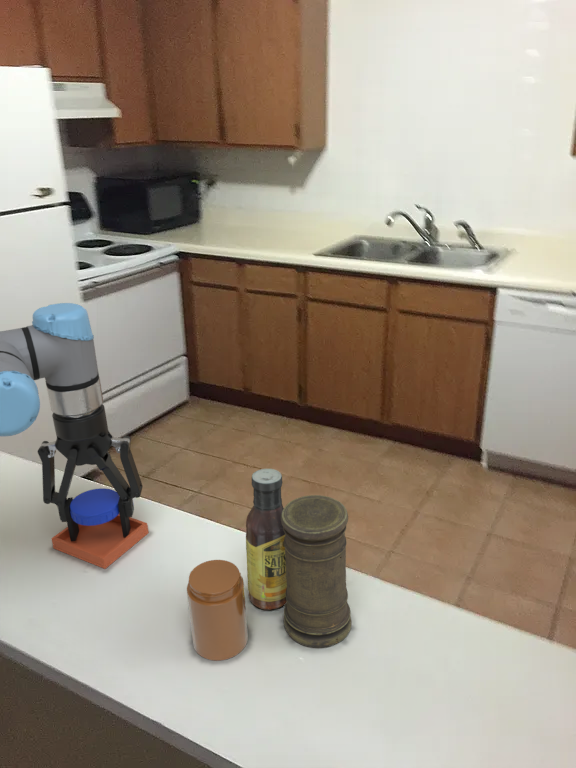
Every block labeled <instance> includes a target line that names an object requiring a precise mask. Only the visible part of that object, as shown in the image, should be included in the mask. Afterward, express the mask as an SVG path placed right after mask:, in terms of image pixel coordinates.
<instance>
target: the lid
mask: <svg viewBox="0 0 576 768" xmlns="http://www.w3.org/2000/svg"><path fill="white" fill-rule="evenodd" d="M119 498H120V496H119V495H118V493H117V492H116V490H115V489H111V488H105V487H104V488H103V487H102V488H101V487H100V488H93V489H89V490H86V491H83V492H81V493H80V494H78V495H75V497H73V500H72V502H71V504H70V510H71V511H70V513H71V518H72V519H73V521H75V522H76V523H78V524H80V525H85V526H93V525H99V524H103V523H106V522H108V521H110V520H112V519H114V518H115V517H116V516H117V515H118V514H119V508H118V501H119Z"/></svg>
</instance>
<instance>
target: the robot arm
mask: <svg viewBox="0 0 576 768" xmlns="http://www.w3.org/2000/svg"><path fill="white" fill-rule="evenodd" d="M90 322H91V321H90V318H89V313H88V310H87V309H86V308H85V307H83V306H82V305H81V304H78V303H73V302H60V303H53V304H48V305H46V306H42V307H39V308H37V309H36V310H35V311H33V313H32V321H31V323H32V324H31V325H27V326H23V327H19V328H13V329H6V330H1V331H0V437H12V436H16V435H18V434H21V433H24V432H25V431H26V430H28V429H29V428H30V427H31V426H32V424H34V422H35V421H36V420H37V418H38V416H39V413H40V408H41V400H40V395H39V389H38V386H37V383H36V381H37V380H40V379H44V381H45V385H46V391H47V397H48V401H49V406H50V407H49V408H50V410H51V412H52V415H51V417H52V421H53V426H54V431H55V435H56V440H55V441H51V442H49V440H44V441H42V442H41V444H40V445H39V447H38V449H37V454H38V457H39V459H40V461H41V471H42V472H41V473H42V476H41V477H42V501H43V503H44V504H45V505H50V504H54V505H56V507H57V511H58V515H59V520H60V522H61V523H66V525H67V527H68V530H69V535H70V540H71V541H76V539H77V536H78V533H79V527H78V523H76V522H75V521H73V519H72V518H71V513H70V511H71V510H70V504H71V502H72V500H73V499H74V497H68V495H69V491H70V488H71V484H72V482H73V477H74V473H75V469H76V467H80V466H81V467H82V466H85V465H90V466H94V465H95V466H96V467H97V469H98V470H99V471H102V473H103V475H104V476H105V478H107V481H108V482H109V483H110V485H111V486H112V488H113V490H114V491H116V492H117V493H118V495H119V496H120V498H119V501H118V508H119V514H120V520H121V526H122V532H123V538H126V537H127V536H128V535H129V532H130V528H131V526H130V520H129V517H131V518H133V516H134V511H135V507H134V506H135V505H134V500H133V499H135V498H136V499H138V498H140V497H141V495H142V491H143V488H144V487H143V483H142V480H141V477H140V474H139V470H138V467H137V465H136V462H135V459H134V455H133V453H132V450H131V444H132V437H130V436H129V435H124V436H122V437H113V435H112V433H111V432H110V430H109V427H108V421H107V419H108V418H107V414H106V407H105V405H104V404H103V403H104V396H103V390H102V384H101V378H100V374H99V367H98V361H97V355H96V347H95V340H94V338H95V336H94V334H93V331H92V326H91V323H90ZM111 447H114V448H115V451H116V453H117V454H119V459H120V463H121V465H122V467H123V471H124V473H125V476H126V479H125V477H124V476H123V473H121V471H120V469H119V468H118V466H117V465H116V464H115V463H114V461H113V459H112V456H111V454H110V452H109V450H110V448H111ZM57 451H58V452H59V453H60V454H61V455H62V456H63V457H65V458H66V459H67V460H66V463H65V467H64V472H63V476H62V479H61V482H60V486H59V490H58V491H56V475H55V474H56V472H55V471H56V470H55V469H56V467H55V466H56V465H55V456H56V454H57Z"/></svg>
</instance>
